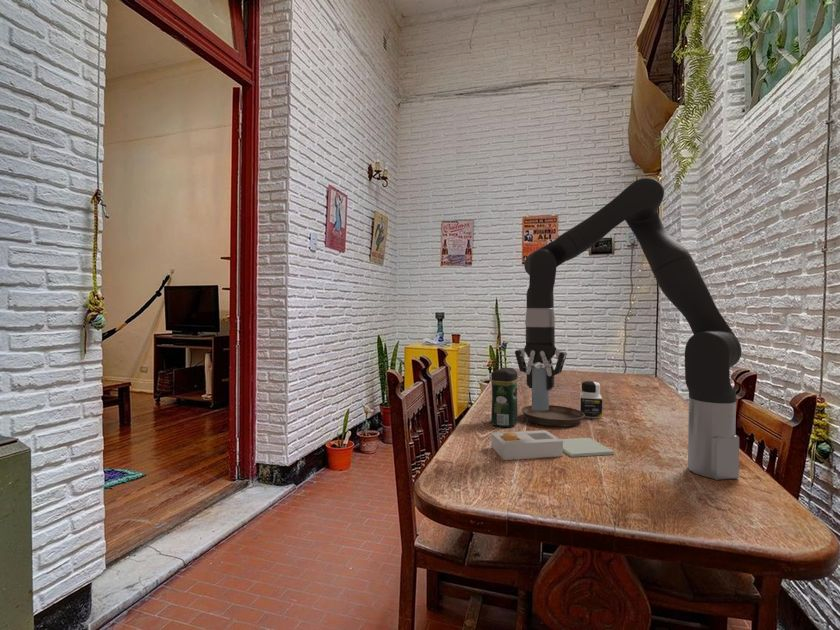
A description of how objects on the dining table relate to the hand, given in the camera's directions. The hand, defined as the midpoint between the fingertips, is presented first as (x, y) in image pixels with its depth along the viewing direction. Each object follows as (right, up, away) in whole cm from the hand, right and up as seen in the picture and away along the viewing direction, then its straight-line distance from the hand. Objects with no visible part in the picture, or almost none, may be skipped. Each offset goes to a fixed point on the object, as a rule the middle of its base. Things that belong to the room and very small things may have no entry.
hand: (540, 388), depth 117 cm
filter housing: (-4, -17, 0) cm, 17 cm away
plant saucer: (+13, -17, +32) cm, 39 cm away
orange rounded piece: (-8, -15, -1) cm, 17 cm away
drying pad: (+12, -17, +3) cm, 21 cm away
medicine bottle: (+28, -16, +38) cm, 50 cm away
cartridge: (0, -5, 0) cm, 5 cm away
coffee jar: (-4, -16, +27) cm, 32 cm away
